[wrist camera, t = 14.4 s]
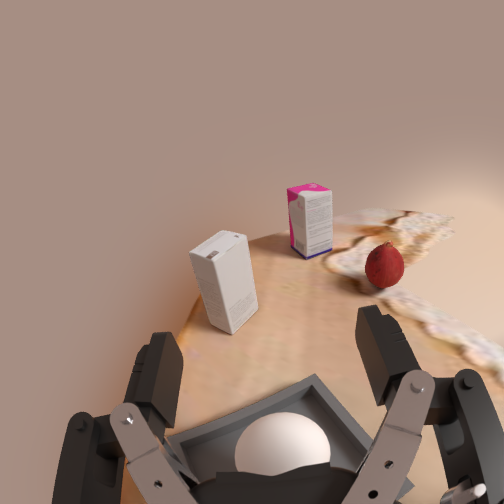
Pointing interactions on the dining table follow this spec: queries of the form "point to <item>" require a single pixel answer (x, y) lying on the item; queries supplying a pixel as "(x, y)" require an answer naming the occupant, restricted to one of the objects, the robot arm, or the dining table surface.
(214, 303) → the skincare box
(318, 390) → the parts tray
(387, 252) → the onion
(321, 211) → the supplement box
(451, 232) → the dining table surface
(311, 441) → the lightbulb
